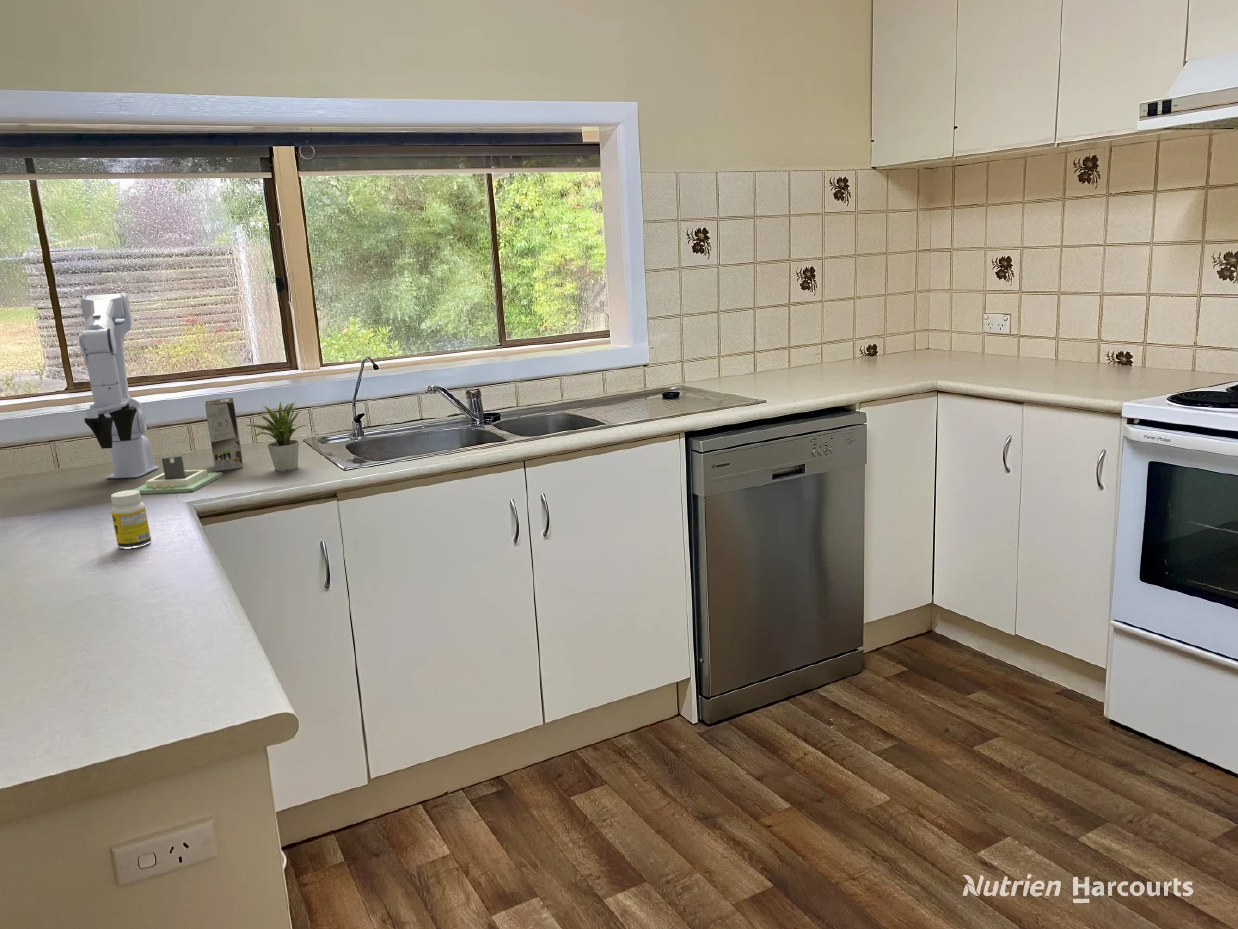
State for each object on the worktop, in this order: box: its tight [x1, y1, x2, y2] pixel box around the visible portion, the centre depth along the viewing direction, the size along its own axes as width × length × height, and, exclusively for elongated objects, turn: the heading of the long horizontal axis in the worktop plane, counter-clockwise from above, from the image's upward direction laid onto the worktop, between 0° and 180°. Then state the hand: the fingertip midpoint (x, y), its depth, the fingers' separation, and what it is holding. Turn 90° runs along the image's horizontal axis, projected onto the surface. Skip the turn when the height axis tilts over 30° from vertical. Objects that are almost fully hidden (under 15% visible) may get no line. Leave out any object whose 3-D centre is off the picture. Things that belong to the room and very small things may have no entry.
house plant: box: [246, 401, 308, 472], centre depth 223 cm, size 14×14×16 cm
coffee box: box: [204, 397, 243, 472], centre depth 228 cm, size 9×6×16 cm
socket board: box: [133, 468, 223, 495], centre depth 214 cm, size 14×14×2 cm
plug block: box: [161, 452, 186, 480], centre depth 213 cm, size 4×4×6 cm
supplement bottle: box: [110, 489, 152, 548], centre depth 169 cm, size 6×6×10 cm
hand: (116, 444), depth 210 cm, fingers open, 7 cm apart
